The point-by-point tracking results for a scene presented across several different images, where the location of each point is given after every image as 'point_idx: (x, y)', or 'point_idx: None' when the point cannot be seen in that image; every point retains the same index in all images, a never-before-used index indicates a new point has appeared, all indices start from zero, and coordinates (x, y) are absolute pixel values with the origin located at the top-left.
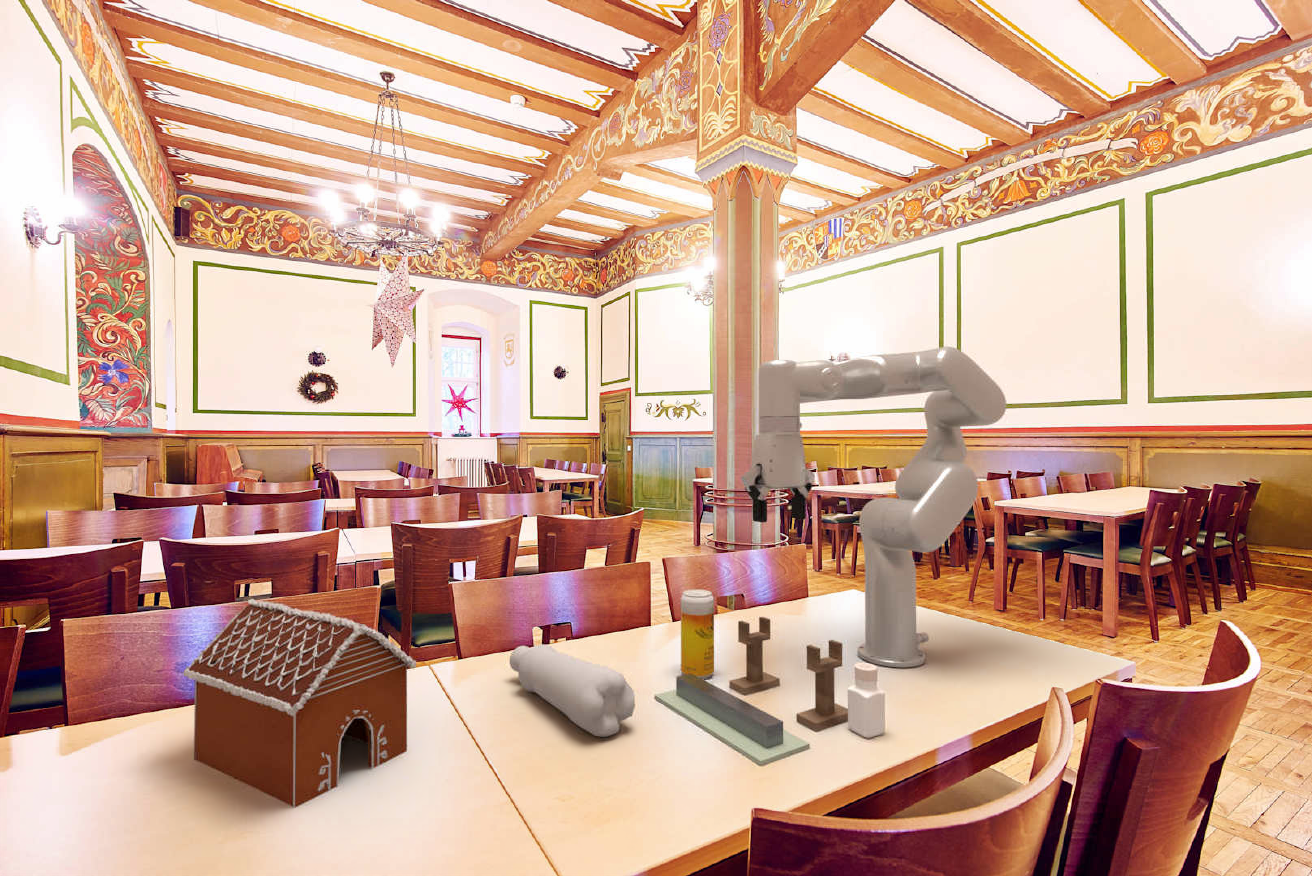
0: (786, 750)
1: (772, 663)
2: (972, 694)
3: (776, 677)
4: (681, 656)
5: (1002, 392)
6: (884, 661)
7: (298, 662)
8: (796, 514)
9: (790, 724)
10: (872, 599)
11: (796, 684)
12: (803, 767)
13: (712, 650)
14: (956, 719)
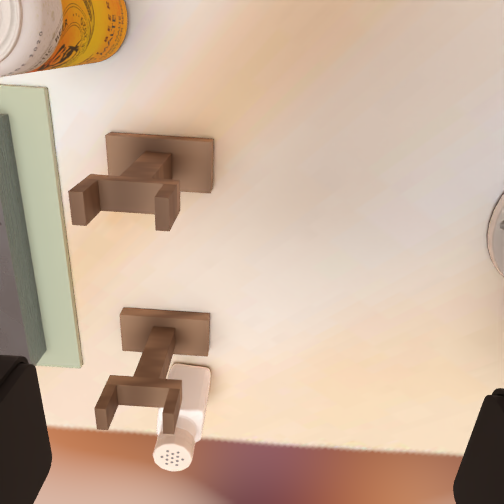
0: (38, 363)
1: (310, 72)
2: (455, 399)
3: (210, 184)
4: None
5: None
6: (493, 255)
7: None
8: (484, 465)
9: (109, 307)
10: None
11: (248, 203)
12: (42, 386)
13: (86, 61)
14: (335, 422)
